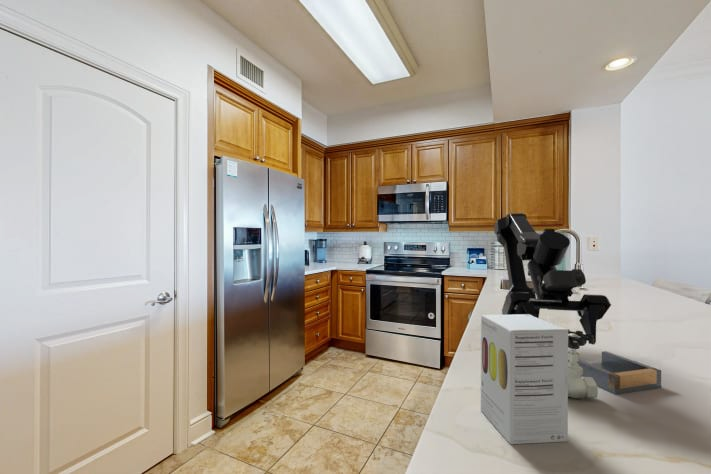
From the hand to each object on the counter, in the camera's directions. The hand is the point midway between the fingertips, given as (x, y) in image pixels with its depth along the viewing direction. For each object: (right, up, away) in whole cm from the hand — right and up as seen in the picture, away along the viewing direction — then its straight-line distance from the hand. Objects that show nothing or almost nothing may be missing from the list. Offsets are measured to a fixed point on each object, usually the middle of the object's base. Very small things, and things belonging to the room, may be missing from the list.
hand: (567, 341), depth 62 cm
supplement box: (-15, -10, -11) cm, 21 cm away
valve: (0, -10, -2) cm, 10 cm away
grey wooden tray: (+13, -10, +5) cm, 17 cm away
